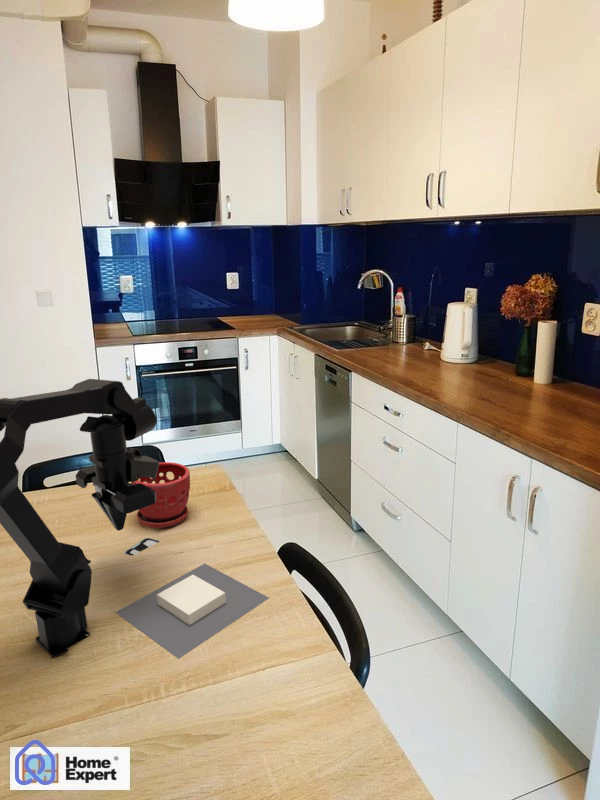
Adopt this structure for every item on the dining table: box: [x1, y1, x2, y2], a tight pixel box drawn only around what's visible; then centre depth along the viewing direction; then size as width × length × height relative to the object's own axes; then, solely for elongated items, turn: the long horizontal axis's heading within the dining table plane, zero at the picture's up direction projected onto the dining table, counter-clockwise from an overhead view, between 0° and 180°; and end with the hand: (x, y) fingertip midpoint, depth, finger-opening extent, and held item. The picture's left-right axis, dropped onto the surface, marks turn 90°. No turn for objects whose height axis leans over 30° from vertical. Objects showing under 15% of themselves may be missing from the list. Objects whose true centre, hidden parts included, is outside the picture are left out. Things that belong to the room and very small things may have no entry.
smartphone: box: [124, 537, 161, 557], centre depth 119 cm, size 7×1×15 cm
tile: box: [157, 575, 226, 625], centre depth 102 cm, size 8×2×9 cm
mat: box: [114, 563, 270, 660], centre depth 102 cm, size 20×18×1 cm
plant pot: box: [130, 461, 191, 529], centre depth 133 cm, size 13×13×12 cm
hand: (119, 529), depth 106 cm, fingers closed
